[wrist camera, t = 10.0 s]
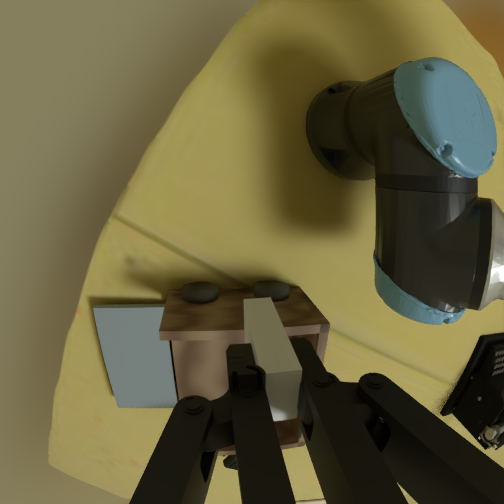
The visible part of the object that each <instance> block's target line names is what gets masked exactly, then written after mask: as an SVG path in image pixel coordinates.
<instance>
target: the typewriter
mask: <svg viewBox="0 0 504 504" xmlns="http://www.w3.org/2000/svg"><path fill="white" fill-rule="evenodd" d="M451 413H452V414H453V415H454V416H455V417H456V418H457V419H458V420H459V421H460V422H461V424H462V425H463V426H464V427H465V428H466V429H467V430H468V431H469V432H470V433H471V434H472V436H473V437H474V438H475V439H476V440H477V441H478V442H479V443H480V444H481V446H482V447H483V448H484V449H485V450H486V449H487V448H488V449H490V448H491V447H492V448H495V447H494V445H497V448H496V449H495V450H497V449H498V448H500V447H501V446H502V445H504V333H498V334H491V335H484V336H480V338H479V340H478V343H477V345H476V347H475V349H474V352H473V354H472V356H471V358H470V360H469V362H468V364H467V366H466V368H465V370H464V372H463V374H462V376H461V378H460V379H459V381H458V383H457V385H456V387H455V389H454V390H453V392H452V394H451V396H450V397H449V399H448V401H447V402H446V404H445V406H444V407H443V409H442V411H441V412H440V414H441V415H442V416H446V415H449V414H451ZM479 436H480V438H481V439H480V440H479V439H478V437H479Z"/></svg>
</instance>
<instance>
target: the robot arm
mask: <svg viewBox="0 0 504 504" xmlns="http://www.w3.org/2000/svg"><path fill="white" fill-rule="evenodd" d="M306 132H307V138H308V141H309V144H310V147H311V149H312V151H313V153H314V155H315V156H316V158H317V159H318V160H319V162H320V163H321V164H322V165H323V166H324V167H325V168H326V169H327V170H329V171H330V172H332V173H333V174H335V175H337V176H339V177H342V178H345V179H350V180H369V179H373V178H375V183H376V185H375V195H376V238H375V250H374V253H373V259H374V263H375V287H376V290H377V293H378V294H379V296H380V297H381V298H382V299H383V301H384V303H385V304H386V305H387V306H389V307H390V308H391V309H392V310H394V311H395V312H397V313H398V314H400V315H402V316H404V317H406V318H409V319H411V320H414V321H417V322H421V323H425V324H432V325H440V324H442V322H444V323H446V324H449V323H453V322H455V321H457V320H458V319H459V318H460V317H461V316H462V314H463V313H464V312H465V310H466V308H468V309H473V310H479V311H481V310H482V309H483V308H485V307H486V306H487V305H488V304H490V303H491V302H492V301H494V300H496V299H501V300H504V213H503V212H502V210H501V209H500V208H499V206H498V205H497V204H496V202H495V201H494V200H493V199H489V198H481V197H478V177H479V176H480V175H482V174H484V173H486V172H487V171H488V170H489V168H490V167H491V166H492V164H493V161H494V160H493V157H492V156H494V155H495V154H496V149H497V134H496V127H495V122H494V118H493V115H492V112H491V109H490V107H489V104H488V102H487V100H486V98H485V96H484V95H483V93H482V91H481V89H480V88H478V86H477V85H476V83H475V82H474V80H473V79H472V78H471V77H470V76H469V75H468V74H467V73H466V72H465V71H464V70H463V69H462V68H460V67H459V66H457V65H456V64H454V63H452V62H450V61H448V60H445V59H442V58H437V57H429V58H424V59H420V60H417V61H409V62H405V63H403V64H401V65H400V66H399V67H397V68H395V69H393V70H390V71H388V72H386V73H384V74H381V75H379V76H377V77H375V78H373V79H371V80H369V81H367V82H360V81H342V82H338V83H335V84H332V85H331V86H329V87H327V88H325V89H324V90H322V91H321V92H320V93H319V94H318V95H317V96H316V97H315V98H314V100H313V101H312V103H311V105H310V107H309V110H308V113H307V118H306ZM244 333H245V344H230V345H229V347H228V348H227V350H226V360H227V374H228V385H229V388H228V390H227V392H226V393H225V394H224V395H223V396H221V397H220V398H217V399H214V400H211V401H210V400H208V399H207V398H205V397H202V396H199V395H190V396H186V397H184V398H182V399H180V400H179V401H178V402H177V403H176V405H175V407H174V409H173V411H172V413H171V415H170V418H169V420H168V422H167V424H166V426H165V428H164V430H163V432H162V435H161V437H160V439H159V441H158V443H157V445H156V447H155V449H154V452H153V454H152V456H151V458H150V460H149V462H148V464H147V466H146V469H145V471H144V473H143V475H142V477H141V479H140V481H139V484H138V486H137V488H136V490H135V492H134V494H133V496H132V499H131V501H130V503H129V504H204V502H205V499H206V495H207V492H208V488H209V484H210V481H211V477H212V473H213V470H214V466H215V462H216V459H217V455H218V450H219V449H222V448H225V447H228V446H231V445H235V453H236V461H237V469H238V477H239V485H240V492H241V500H242V504H296V502H295V498H294V495H293V491H292V487H291V484H290V480H289V476H288V473H287V469H286V465H285V462H284V458H283V454H282V451H281V447H280V443H279V439H278V436H277V432H276V428H275V424H274V421H281V420H288V419H295V418H297V413H298V411H299V414H300V417H301V419H300V426H299V433H298V438H301V435H302V434H303V437H304V440H305V443H306V446H307V449H308V452H309V455H310V458H311V461H312V463H313V466H314V469H315V472H316V475H317V478H318V481H319V484H320V486H321V489H322V492H323V495H324V498H325V501H326V504H408V502H407V500H406V498H405V497H404V495H403V493H402V491H401V489H400V487H399V486H398V484H399V485H400V486H401V487H402V488H403V489H404V490H405V491H406V492H407V493H408V494H409V495H410V496H411V497H412V498H413V499H414V500H415V501H416V502H417V503H418V504H504V468H503V467H501V466H500V465H499V464H497V463H496V462H495V461H493V460H492V459H491V458H489V457H488V456H487V455H486V454H484V453H483V452H482V451H480V450H479V449H478V448H476V447H475V446H474V445H473V444H471V443H470V442H469V441H467V440H466V439H465V438H463V437H462V436H461V435H460V434H458V433H457V432H456V431H455V430H453V429H452V428H451V427H449V426H448V425H447V424H446V423H444V422H443V421H442V420H440V419H439V418H438V417H437V416H435V415H434V414H433V413H432V412H430V411H429V410H428V409H427V408H425V407H424V406H423V405H421V404H420V403H419V402H418V401H416V400H415V399H414V398H413V397H411V396H410V395H409V394H408V393H406V392H405V391H404V390H403V389H401V388H400V387H399V386H398V385H396V384H395V383H394V382H392V381H391V380H390V379H389V378H387V377H386V376H384V375H382V374H379V373H368V374H364V375H363V376H361V378H360V379H359V382H358V383H356V382H341V381H339V379H338V378H337V377H336V376H335V375H333V374H332V373H329V372H327V371H326V369H325V367H324V365H323V364H322V362H321V360H320V358H319V356H318V355H317V353H316V351H315V350H314V347H313V345H312V344H311V342H310V341H308V340H307V339H305V338H304V337H302V338H293V339H289V338H288V336H287V333H286V331H285V329H284V327H283V324H282V322H281V320H280V318H279V315H278V313H277V311H276V308H275V306H274V304H273V302H272V299H271V297H269V298H254V299H244ZM381 418H382V419H383V420H382V419H381ZM397 483H398V484H397Z"/></svg>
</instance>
